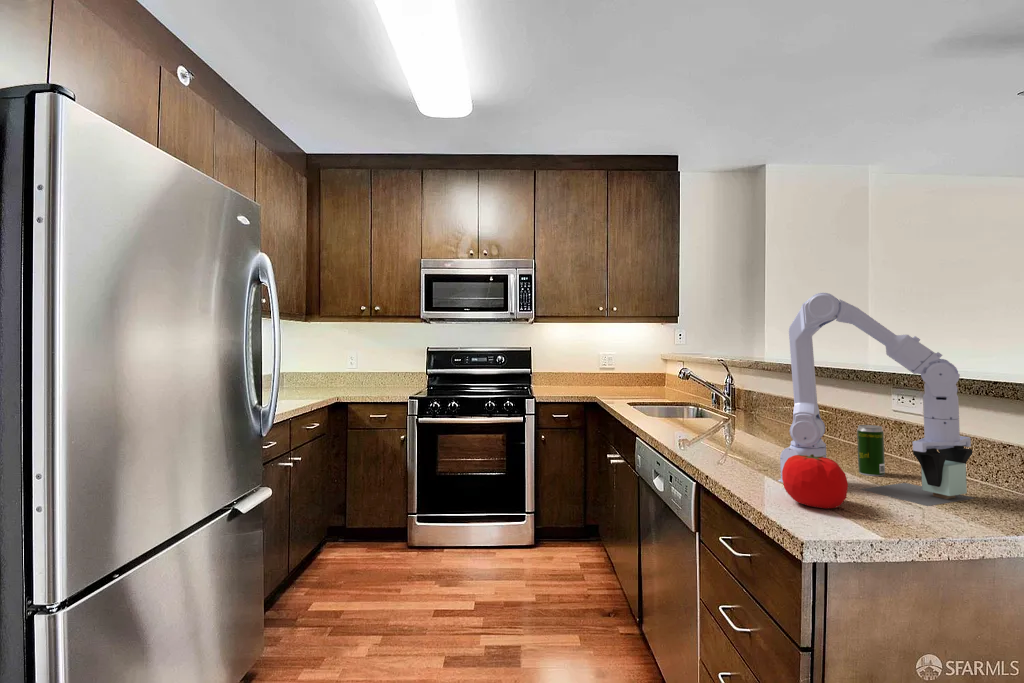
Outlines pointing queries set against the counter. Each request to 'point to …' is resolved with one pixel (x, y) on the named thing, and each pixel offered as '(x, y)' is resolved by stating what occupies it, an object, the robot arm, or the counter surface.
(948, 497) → the beech post
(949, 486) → the pale green block
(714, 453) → the counter surface
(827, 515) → the counter surface
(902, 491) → the rubber mat
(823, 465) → the tomato
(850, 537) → the counter surface
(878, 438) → the beer can
